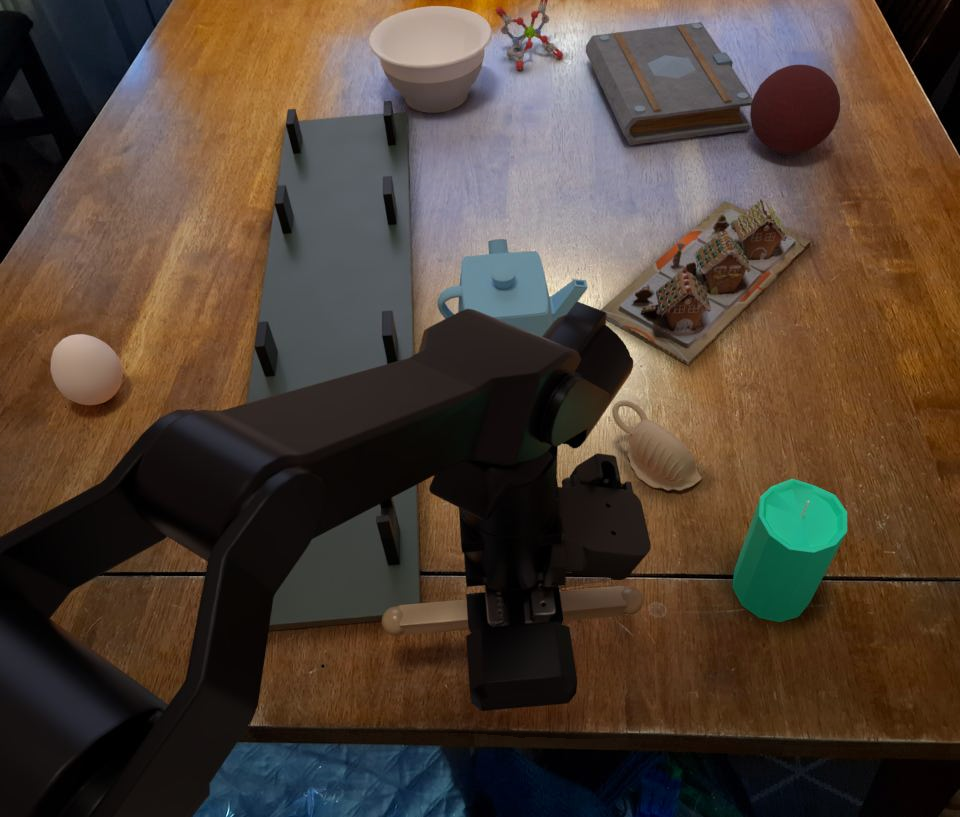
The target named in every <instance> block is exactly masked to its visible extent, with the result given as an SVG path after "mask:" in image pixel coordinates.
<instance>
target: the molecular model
mask: <svg viewBox="0 0 960 817" xmlns="http://www.w3.org/2000/svg"><path fill="white" fill-rule="evenodd" d="M548 2H549V0H540V1H539V4H538V7H537V10H533V11H532V12H531V14H530V17H531V22H530V25H529V26H527V25H526V24H525V23H524V18H523V17H522V16H521V17H520V16H519V17H518V18H512V16H510V15H509V14H508V13H507V12H506V11H505V9H504V8H503V7H502V6H497V7H496V9H495V12H496V14H497V15H498V16H499V18H500V19H501V20H502V21H503V22H504V25H503V26H501V28H500V33H502V35H507V36H508V37H509V38H510V39H511V42H512V45H511V48H510V49H508V50H507V51H506V56H507V57H508V58H514V57H516V59H515V60H516V61H515V62H516V64H515V65H516V66H515V68H516V70H517V71H522V70H523V68H524V58H525V53H526V52H527V51H528V50H531V49H533V46H534V43H533V41H532V38H533V37H535V38H537V39H539V40H540V42H541V46H542V48H543V49H544V50H547V51H548V52H550V53H551V54H552V55H553V56H554V57H556V59H558V60H561V59H562V58H563V57H564V53H563V52H562V51H561V50H560V49H559V48H558V47H556V45H555V44H554V43H552V42H550V41H549V38H548V36H547V35H546V34H545V35H542V34H541V33H542V29H543V27H544V25H545V24H548V23H549V21H550V16H549V15H548V14H546V10H547V5H548ZM539 14H541V15H542V16H541V23H540V25H539V26H538V28H534V24H535V20H536V19H538V17H539ZM511 23H515V24H516V25H518V26H521V27H522V28H523V29H524V30H523V34H521V35H520V36H514V35H513V34H512V33H511V32H510V29H509V27H508V26H509V24H511ZM526 38H527V42H526V43H525V47H524V48H523V49H522V51H521V50H520V51H518V52H515V51H514V50H515V48H516V49H521V48H522V46H523V43H524V42H523V41H525V39H526Z"/></svg>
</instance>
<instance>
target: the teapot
mask: <svg viewBox="0 0 960 817" xmlns="http://www.w3.org/2000/svg"><path fill="white" fill-rule="evenodd" d="M487 242H488V243H487V244H488V253H487V254H477V255H469V256H468V255H467V256H465V257H463V258H462V260H461V266H460V277H459V285H452V286H449V287H447V288H445V289H444V290H443V291H441V292H440V294H439V295H438V298H437V308H438V311H439V313H440V314H441V315H442V317H443V318H444V319H446V318H448V317H450V316H452V315H454V314H455V313H454V312H453V311H452V310H451V309H450V308H449V307H448V306H447V302H448V301H449V300H451V299H456V298H458V308H457V309H458V310H457V313H458V312H460V311H462V310H465V309H474V310H476V311H479V312H481V313H484V314H486V315H489V316H491V317H494V318H496V319H499V320H501V321H504V322H506V323H509V324H511V325H514V326H516V327H519V328H521V329H524V330H526V331H529V332H531V333H534V334H536V335H539V336H541V337H542V335H543V334H544V333H545V332H546V330H547V329H548V328H549V327H550V325H551V324H552V323H553V322H554V321H555V320H556V319H557V318H559V317H561V316H564V315H567V313H568V312H569V311H570V309H571V308H572V307H573V306H574V304H575V303H576V302H579V301H580V300H581V298H582V296H583V295H584V294H585V293H586V291H587V290H588V283H587V280H586V279H579V278H577V279H576V278H573V279H572V280H571V281H570V282H569V283H567V284H566V285H565V286H563V287H562V288H561V289H559V290H557V291H556V292H555V293H554V294H552V295H550V294H549V287H548V284H547V279H546V275H545V274H546V273H545V271H544V266H543V261H542V258H541V256H540V254H539V252H538V251H535V250H533V251H531V250H530V251H511V252H510V251H509V248H508V241H507V239H505V238H497V239H490V240H488V241H487Z"/></svg>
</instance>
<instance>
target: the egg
mask: <svg viewBox="0 0 960 817" xmlns="http://www.w3.org/2000/svg"><path fill="white" fill-rule="evenodd" d="M50 374H51V378H52V381H53V383H54V384H55V387H56V388H57V390H58V391H59V392H60V393H61V394H62V395H63V396H64V397H65V398H67V399H68V400H69V401H72V402H74V403H77V404H78V405H85V406H96V405H101V404H103V403H106V402H107V401H109V400H111V399H112V398H113V397H114V396H115V395H116V394H117V393H118V391H119V390H120V388H121V386H122V382H123V378H124V369H123V365H122V363H121V360H120V358H119V356H118V355H117V353H116V352H115V350H114V349H113V348H112V347H111V346H110V345H109V344H107V343H106V342H105V341H103V340H101V339H99V338H98V337H95V336H92V335H90V334H85V333H76V334H71V335H68V336H66V337H63V338H62V339H61V340H60V341H59V342H58V343H57V344H56V345H55V347H54V348H53V350H52V354H51V357H50Z"/></svg>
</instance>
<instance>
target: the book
mask: <svg viewBox="0 0 960 817" xmlns="http://www.w3.org/2000/svg"><path fill="white" fill-rule="evenodd" d="M585 54H586V56H587V58H588V60H589V63H590V65H591V67H592V69H593V71H594V73H595V76H596V78H597V80H598V82H599V84H600V86H601V88H602V91H603V93H604V95H605V97H606V100H607V102H608V104H609V106H610V107H611V110H612V112H613V114H614V117H615V119H616V122H617V123H618V126H619V128H620V130H621V132H622V134H623V136H624V138H625V140H626V142H627V143H628V144H629V146H632V145H633V146H634V145H642V144H649V143H655V142H656V143H657V142H664V141H672V140H678V139H685V138H686V139H687V138H694V137H701V136H709V135H717V134H725V133H731V132H741V131H748V130H750V128H751V124H750V123H749V121H748V120H747V118H746V117H745V115H744V114H743V113H744V112H742V110H741V109H740V108H743V107H751V104H752V101H753V97H752V96H751V94H750V93H749V91H748V89H747V88H746V87H745V86H744V83H743V82H742V80H741V79H740V78H739V76H738V75H737V73H736V72H735V70H734V69H733V64H734V63H733V60H732V59H731V57H730V56H729V54H728V53H727V52H725V51H723V52H722V51H721V49H720V48H719V46H718V45H717V43H716V42H715V40H714V39H713V38H712V36H711V35H710V33H709V32H708V30H707V28H706V26H704V24H703V22H699V21H698V22H690V23H683V24H675V25H667V26H658V27H651V28H643V29H634V30H626V31H619V32H618V31H617V32H612V33H603V34H602V33H601V34H593V35H592V36H591V37H590V39H588V42H587V43H586V45H585Z"/></svg>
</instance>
